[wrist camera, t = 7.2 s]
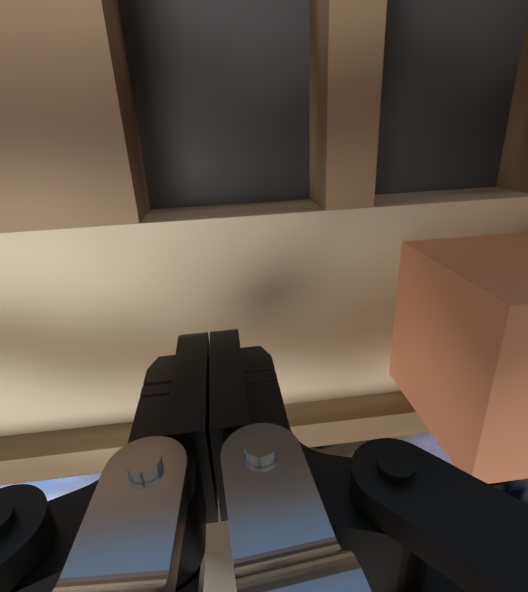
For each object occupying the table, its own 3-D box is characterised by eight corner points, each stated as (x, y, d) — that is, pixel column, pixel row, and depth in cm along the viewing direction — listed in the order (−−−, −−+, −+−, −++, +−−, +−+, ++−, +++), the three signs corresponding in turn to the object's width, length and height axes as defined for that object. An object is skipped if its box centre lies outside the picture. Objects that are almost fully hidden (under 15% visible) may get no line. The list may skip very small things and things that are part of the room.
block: (401, 241, 13) (510, 305, 8) (547, 230, 13) (729, 285, 8) (388, 373, 14) (469, 486, 10) (515, 360, 15) (649, 461, 10)
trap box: (-226, -94, 10) (-459, -213, 6) (586, -93, 12) (736, -183, 8) (-17, 418, 16) (-79, 495, 13) (490, 363, 18) (553, 417, 15)
